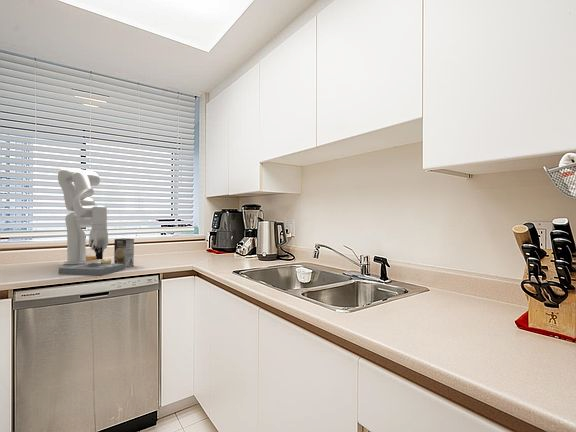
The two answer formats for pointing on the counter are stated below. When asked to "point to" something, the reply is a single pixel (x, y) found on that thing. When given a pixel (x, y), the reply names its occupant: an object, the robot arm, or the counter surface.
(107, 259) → the brass button
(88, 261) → the plate
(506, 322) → the counter surface
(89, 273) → the switch panel
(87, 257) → the orange slider
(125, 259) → the coffee box
